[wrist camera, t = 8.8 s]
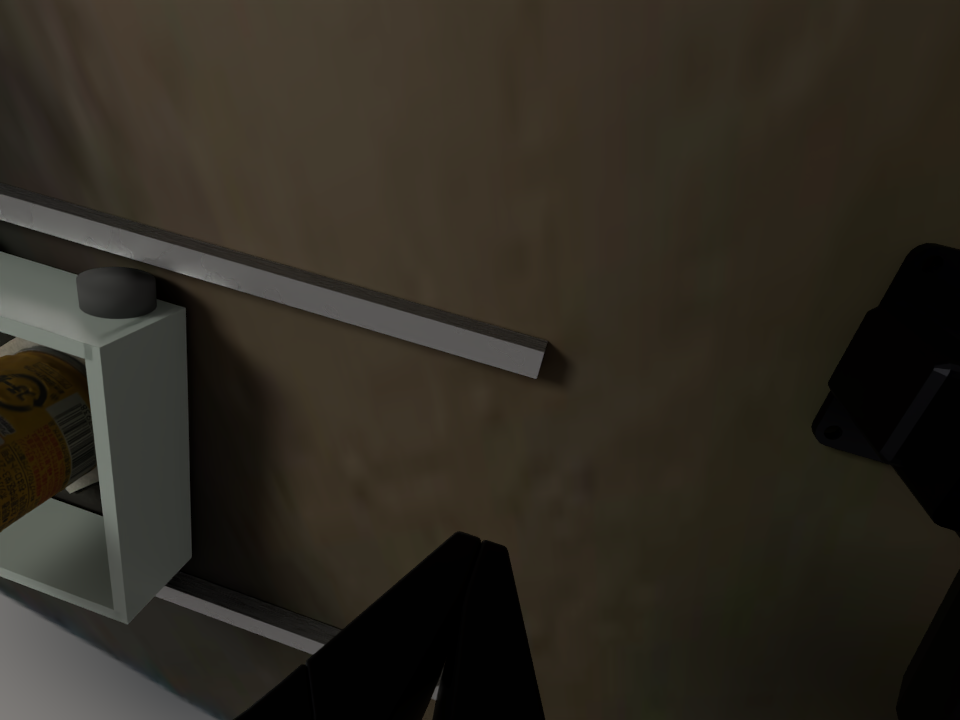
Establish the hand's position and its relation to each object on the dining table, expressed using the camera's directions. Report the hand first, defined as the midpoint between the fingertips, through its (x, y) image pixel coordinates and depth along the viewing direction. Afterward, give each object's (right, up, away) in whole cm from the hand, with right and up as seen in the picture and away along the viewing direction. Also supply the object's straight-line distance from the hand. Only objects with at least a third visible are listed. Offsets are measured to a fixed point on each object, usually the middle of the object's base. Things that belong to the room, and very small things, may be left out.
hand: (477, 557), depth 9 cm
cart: (-18, +1, +16) cm, 25 cm away
